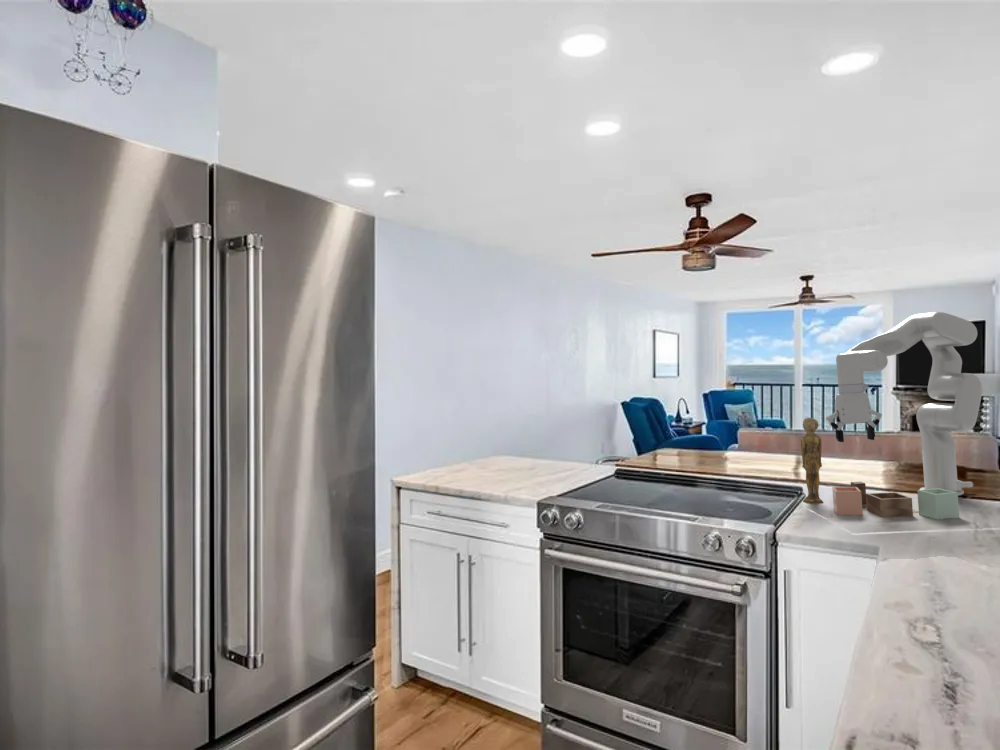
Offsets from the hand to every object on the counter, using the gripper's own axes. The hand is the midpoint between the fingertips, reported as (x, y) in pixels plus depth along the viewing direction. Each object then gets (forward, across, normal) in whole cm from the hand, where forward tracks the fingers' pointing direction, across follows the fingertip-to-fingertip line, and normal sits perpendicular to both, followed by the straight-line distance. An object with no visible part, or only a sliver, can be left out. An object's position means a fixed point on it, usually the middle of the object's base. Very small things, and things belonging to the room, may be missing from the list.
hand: (855, 440), depth 203 cm
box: (+22, -2, +13) cm, 26 cm away
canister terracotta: (+22, +9, +10) cm, 26 cm away
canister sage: (+22, -13, +19) cm, 32 cm away
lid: (+22, +1, 0) cm, 22 cm away
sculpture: (+22, +13, -6) cm, 26 cm away
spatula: (+22, -8, +7) cm, 25 cm away
